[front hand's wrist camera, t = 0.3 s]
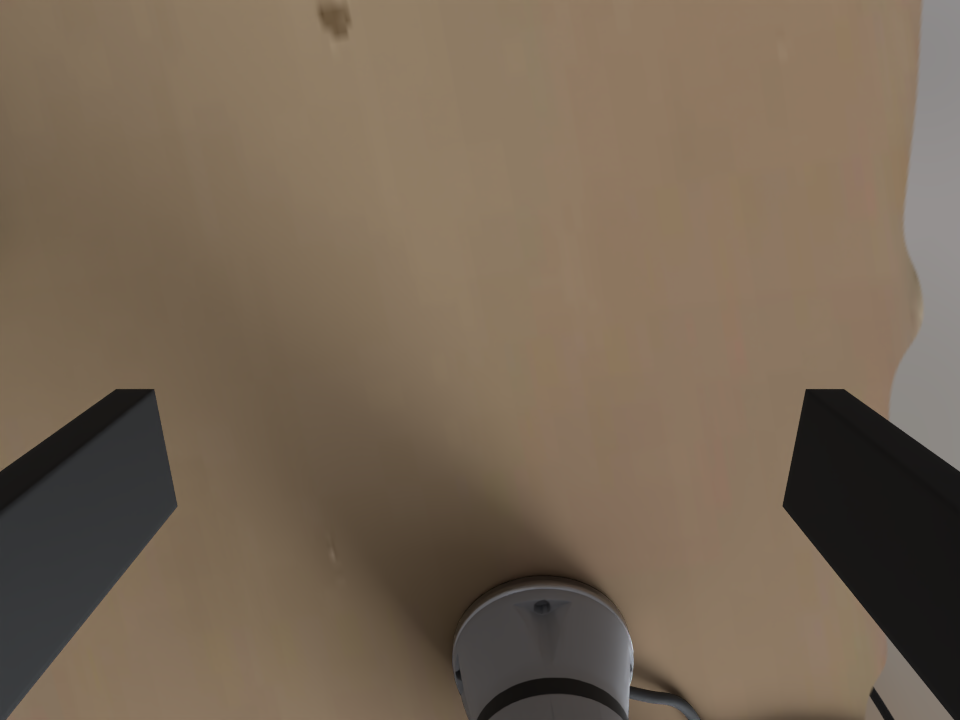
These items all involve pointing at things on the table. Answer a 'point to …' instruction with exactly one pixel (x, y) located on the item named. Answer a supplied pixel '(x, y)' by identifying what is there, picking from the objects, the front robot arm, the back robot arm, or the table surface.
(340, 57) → the table surface
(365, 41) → the table surface
